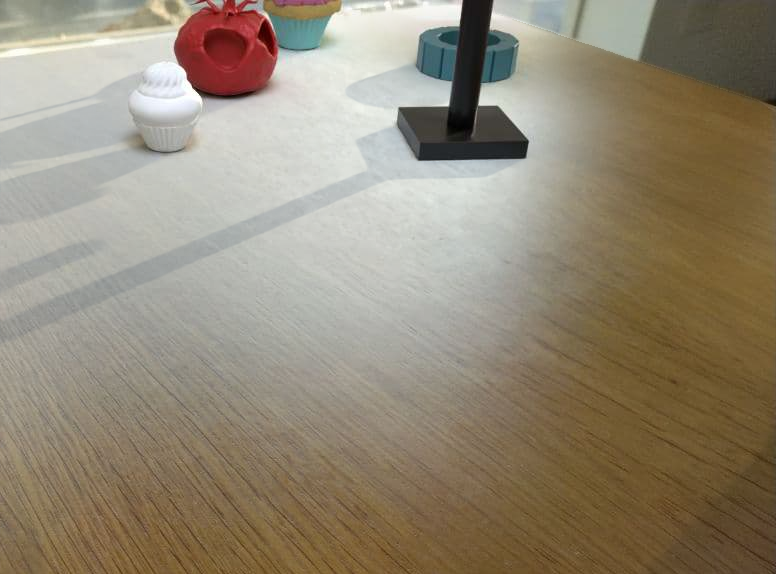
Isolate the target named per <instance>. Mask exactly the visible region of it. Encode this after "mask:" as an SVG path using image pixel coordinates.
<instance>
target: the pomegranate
mask: <svg viewBox="0 0 776 574" xmlns="http://www.w3.org/2000/svg"><path fill="white" fill-rule="evenodd" d="M205 2H206V4H207V5H208V6H203V7H202V8H201V9H199V11H197V12H195V13H193V14H192V15H190V17H188V18H187V20H186V21H185V23H184V24H183V25H181V26H180V28H179V29H178V33H177V36H176V38H175V40H174V44H173V52H174V56H175V58H176V61H177V65H179V66H181V67H182V68H183V69H184V71H185V72H186V77H187V81H188V82H189V83H190V84H191V86H193V87H194V88H196V89H198V90H200V91H203V92H204V93H208V94H213V95H217V96H228V97H229V96H236V95H241V94H244V93H249V92H255V91H259V90H260V89H262V88H264V87H265V86H266V85H267V84H268V82H269V81H270V79H271V78H272V76H273V74H274V71H275V69H276V65H277V62H278V57H279V45H278V43H277V39H276V35H275V31H274V28H273V25H272V23H271V20H270V19H268V18H267V17H266V16H265V15H264V14H262V13H259V12H258V10H257V9H248V10H244V8H245V7H246V6H247V5H250V4H251V5H252V4H253V5H255V4H257V3H258V2H259V0H243V1H241V3H239V4H236V0H222V3H223V5H222V7H221V8H220V7H218V6H217V5H216V4H215V3H213V2H212V1H211V0H198V1H196V2H194V3H189V5H190V6H194V5H198V4H201V3H205Z"/></svg>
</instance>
